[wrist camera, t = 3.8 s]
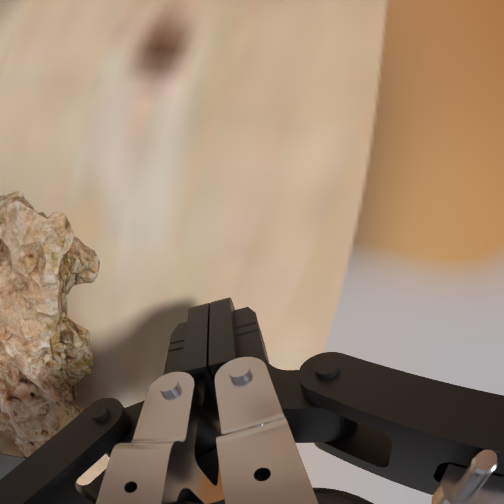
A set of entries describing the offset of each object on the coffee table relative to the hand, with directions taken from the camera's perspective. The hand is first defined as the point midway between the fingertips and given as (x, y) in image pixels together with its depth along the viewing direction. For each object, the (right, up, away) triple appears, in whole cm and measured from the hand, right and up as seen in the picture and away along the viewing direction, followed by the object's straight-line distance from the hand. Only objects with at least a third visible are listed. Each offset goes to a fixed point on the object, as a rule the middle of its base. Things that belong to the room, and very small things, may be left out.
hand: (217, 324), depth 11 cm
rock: (-9, -2, +2) cm, 10 cm away
